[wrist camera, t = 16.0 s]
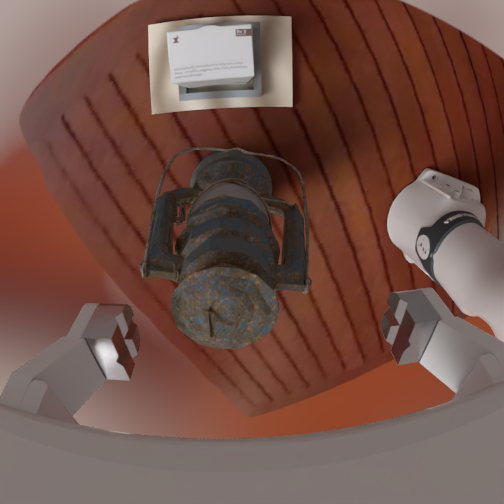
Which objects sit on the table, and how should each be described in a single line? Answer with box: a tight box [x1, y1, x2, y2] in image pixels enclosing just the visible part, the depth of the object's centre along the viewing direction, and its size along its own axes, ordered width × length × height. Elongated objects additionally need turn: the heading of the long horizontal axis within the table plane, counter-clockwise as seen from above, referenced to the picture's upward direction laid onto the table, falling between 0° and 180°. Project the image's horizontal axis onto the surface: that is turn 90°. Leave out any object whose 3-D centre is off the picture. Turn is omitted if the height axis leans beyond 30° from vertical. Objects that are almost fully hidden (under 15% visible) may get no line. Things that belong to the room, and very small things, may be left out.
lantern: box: [140, 147, 312, 349], centre depth 34 cm, size 19×14×30 cm
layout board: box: [148, 16, 293, 114], centre depth 36 cm, size 20×14×4 cm
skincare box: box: [167, 24, 254, 88], centre depth 30 cm, size 8×6×15 cm
